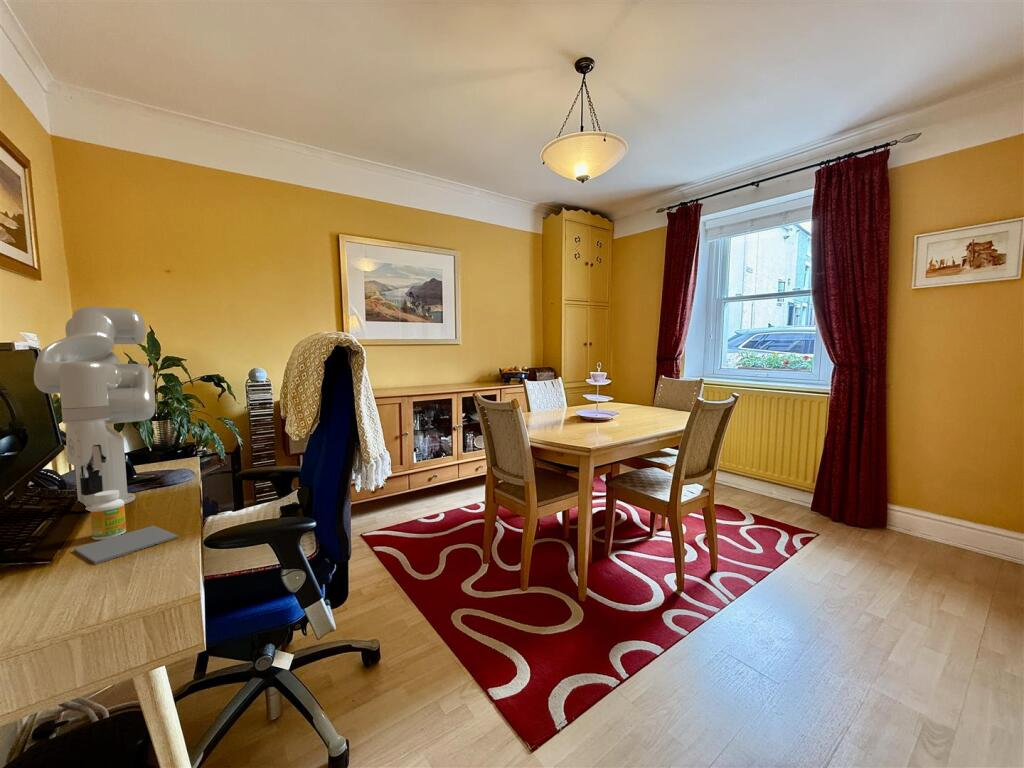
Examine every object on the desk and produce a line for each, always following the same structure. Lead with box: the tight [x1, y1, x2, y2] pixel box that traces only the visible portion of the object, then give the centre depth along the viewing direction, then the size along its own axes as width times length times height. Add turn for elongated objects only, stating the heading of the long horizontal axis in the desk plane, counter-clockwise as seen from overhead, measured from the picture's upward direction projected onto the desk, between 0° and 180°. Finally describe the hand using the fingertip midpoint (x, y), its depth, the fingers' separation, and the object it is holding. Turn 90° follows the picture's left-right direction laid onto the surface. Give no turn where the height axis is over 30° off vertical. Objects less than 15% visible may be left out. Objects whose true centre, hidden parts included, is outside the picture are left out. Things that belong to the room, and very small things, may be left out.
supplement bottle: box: [89, 490, 127, 541], centre depth 90 cm, size 5×5×10 cm
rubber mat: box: [73, 525, 179, 565], centre depth 86 cm, size 12×13×1 cm
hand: (92, 493), depth 94 cm, fingers closed
